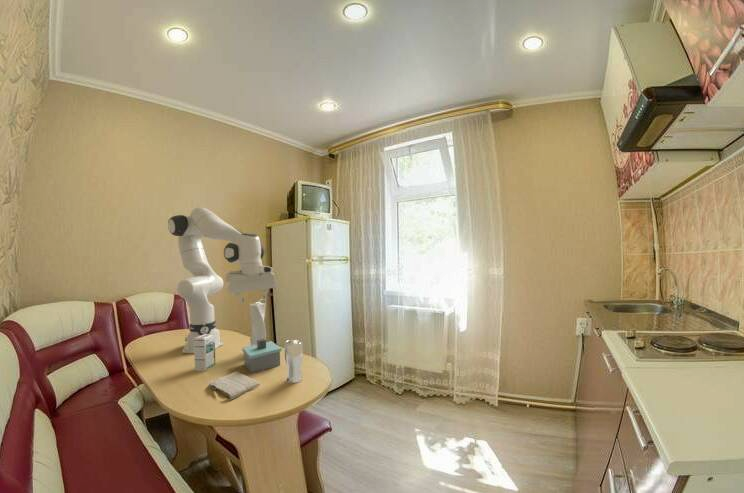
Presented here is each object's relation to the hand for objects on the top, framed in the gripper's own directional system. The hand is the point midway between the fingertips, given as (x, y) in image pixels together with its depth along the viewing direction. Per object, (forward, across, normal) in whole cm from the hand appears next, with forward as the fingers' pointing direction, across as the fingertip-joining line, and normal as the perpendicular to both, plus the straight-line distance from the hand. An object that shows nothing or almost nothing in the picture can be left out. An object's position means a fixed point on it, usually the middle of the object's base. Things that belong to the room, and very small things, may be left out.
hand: (253, 300), depth 124 cm
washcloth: (+30, -12, -12) cm, 35 cm away
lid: (+24, +2, -1) cm, 24 cm away
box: (+30, +2, -1) cm, 30 cm away
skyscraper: (+30, +5, +14) cm, 33 cm away
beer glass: (+30, +7, -23) cm, 39 cm away
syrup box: (+29, -18, +15) cm, 37 cm away
